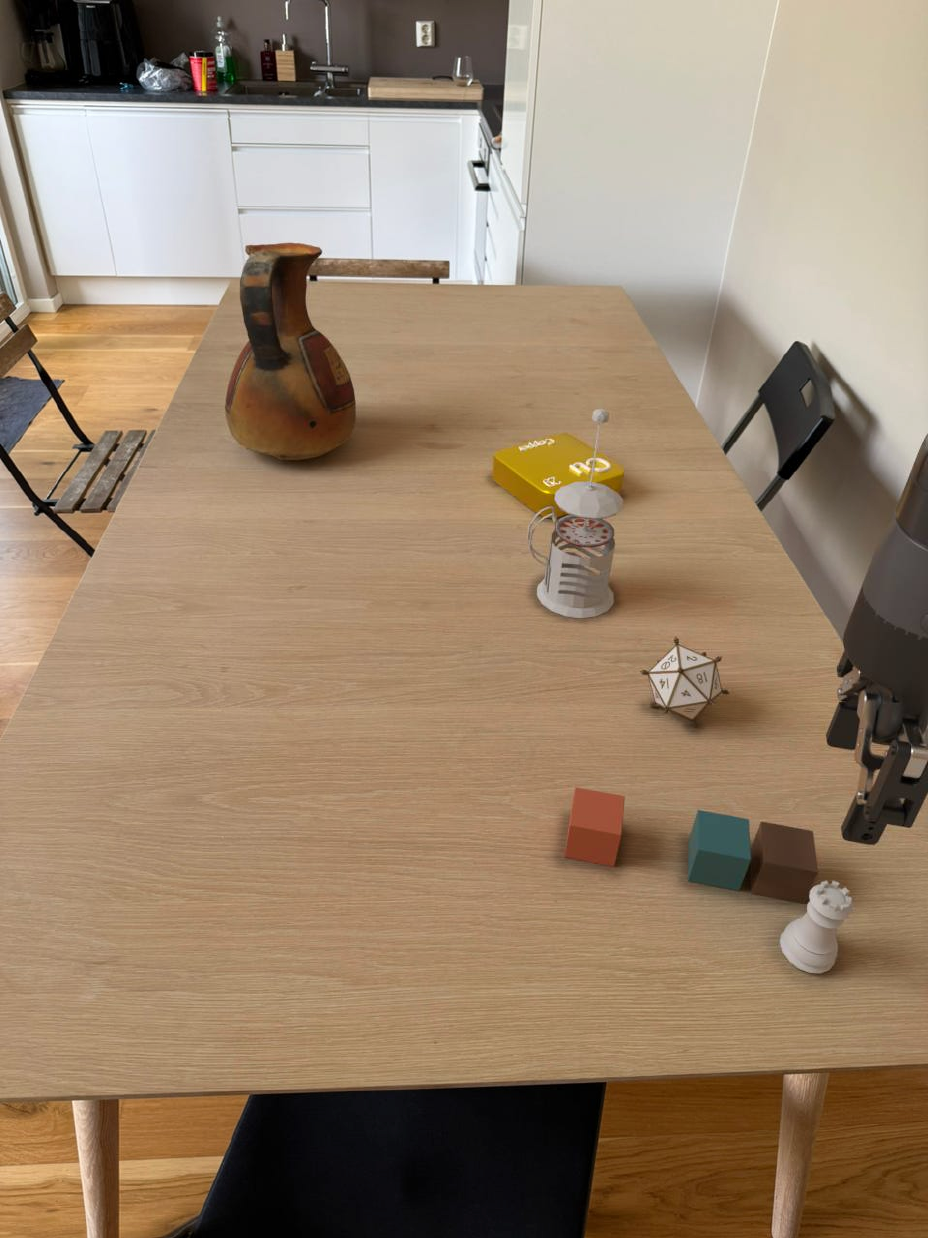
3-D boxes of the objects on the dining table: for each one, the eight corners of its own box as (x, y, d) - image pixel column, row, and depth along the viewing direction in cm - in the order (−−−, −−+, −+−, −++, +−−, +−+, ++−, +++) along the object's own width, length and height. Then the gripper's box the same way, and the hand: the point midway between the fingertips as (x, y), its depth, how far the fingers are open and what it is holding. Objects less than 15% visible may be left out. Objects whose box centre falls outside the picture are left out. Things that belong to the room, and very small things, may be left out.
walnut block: (799, 862, 81) (813, 830, 78) (803, 904, 77) (818, 872, 75) (748, 852, 81) (760, 821, 79) (750, 893, 78) (763, 862, 75)
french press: (621, 617, 109) (656, 429, 93) (527, 618, 108) (547, 429, 92) (606, 571, 116) (635, 391, 101) (518, 572, 116) (534, 390, 100)
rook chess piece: (818, 924, 76) (846, 866, 71) (844, 973, 72) (876, 915, 67) (769, 931, 75) (794, 873, 70) (793, 980, 72) (821, 923, 67)
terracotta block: (617, 828, 83) (624, 796, 80) (614, 867, 80) (621, 835, 77) (569, 819, 84) (575, 786, 81) (564, 857, 80) (569, 825, 77)
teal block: (737, 850, 82) (749, 818, 79) (739, 891, 78) (751, 859, 75) (688, 841, 82) (697, 809, 79) (687, 881, 79) (697, 849, 76)
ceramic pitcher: (371, 424, 148) (366, 234, 130) (336, 482, 132) (325, 275, 114) (258, 411, 150) (238, 222, 132) (211, 466, 134) (180, 261, 116)
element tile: (563, 454, 142) (567, 427, 139) (626, 496, 132) (631, 467, 129) (486, 477, 135) (488, 448, 132) (546, 522, 126) (549, 492, 123)
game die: (671, 746, 97) (659, 725, 88) (635, 680, 101) (620, 653, 92) (746, 709, 96) (742, 684, 87) (707, 643, 99) (699, 613, 91)
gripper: (1042, 691, 44) (927, 887, 54) (973, 540, 55) (888, 726, 65) (885, 667, 45) (800, 863, 55) (848, 523, 56) (783, 709, 66)
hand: (848, 789), depth 60 cm, fingers open, 8 cm apart
